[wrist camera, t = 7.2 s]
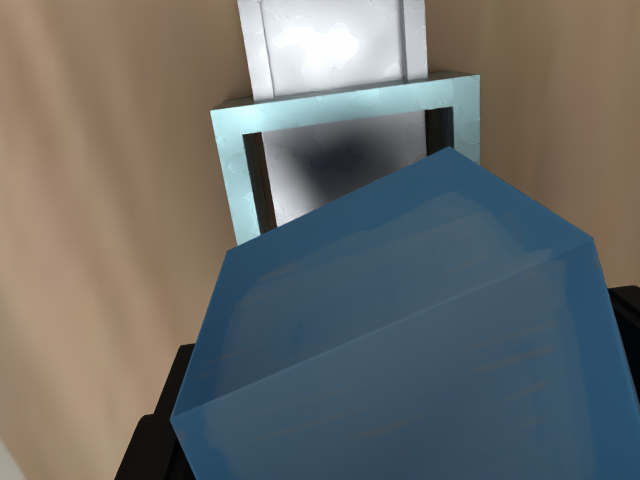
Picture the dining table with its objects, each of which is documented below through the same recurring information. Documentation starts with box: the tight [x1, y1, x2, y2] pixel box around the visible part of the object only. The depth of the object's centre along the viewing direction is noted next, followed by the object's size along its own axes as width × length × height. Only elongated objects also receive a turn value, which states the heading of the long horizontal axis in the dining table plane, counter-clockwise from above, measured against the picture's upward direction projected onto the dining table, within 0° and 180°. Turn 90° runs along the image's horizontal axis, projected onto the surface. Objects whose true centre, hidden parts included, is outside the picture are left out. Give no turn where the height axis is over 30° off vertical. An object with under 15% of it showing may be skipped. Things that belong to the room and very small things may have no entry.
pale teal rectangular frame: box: [210, 0, 480, 246], centre depth 22 cm, size 10×18×4 cm, turn 7°
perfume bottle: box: [170, 146, 640, 480], centre depth 8 cm, size 6×6×12 cm
